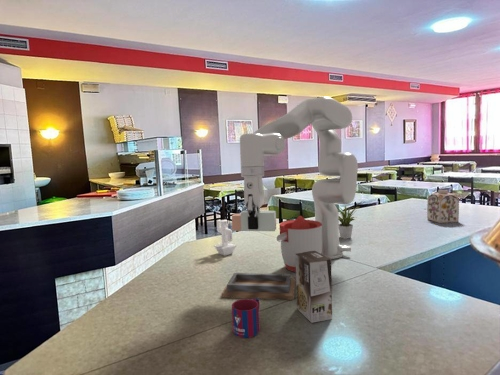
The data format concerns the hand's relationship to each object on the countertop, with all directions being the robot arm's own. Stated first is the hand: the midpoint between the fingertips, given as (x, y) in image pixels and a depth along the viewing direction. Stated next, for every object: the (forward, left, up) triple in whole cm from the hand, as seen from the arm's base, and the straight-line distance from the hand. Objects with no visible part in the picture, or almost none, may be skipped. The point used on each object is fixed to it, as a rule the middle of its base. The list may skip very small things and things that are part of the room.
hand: (254, 226), depth 111 cm
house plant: (-36, -63, -20) cm, 75 cm away
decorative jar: (-93, -100, -20) cm, 138 cm away
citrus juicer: (-14, -16, -20) cm, 29 cm away
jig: (-2, +4, -20) cm, 20 cm away
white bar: (0, 0, -1) cm, 1 cm away
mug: (-3, +28, -20) cm, 34 cm away
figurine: (+19, -33, -20) cm, 43 cm away
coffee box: (-19, +19, -20) cm, 33 cm away
